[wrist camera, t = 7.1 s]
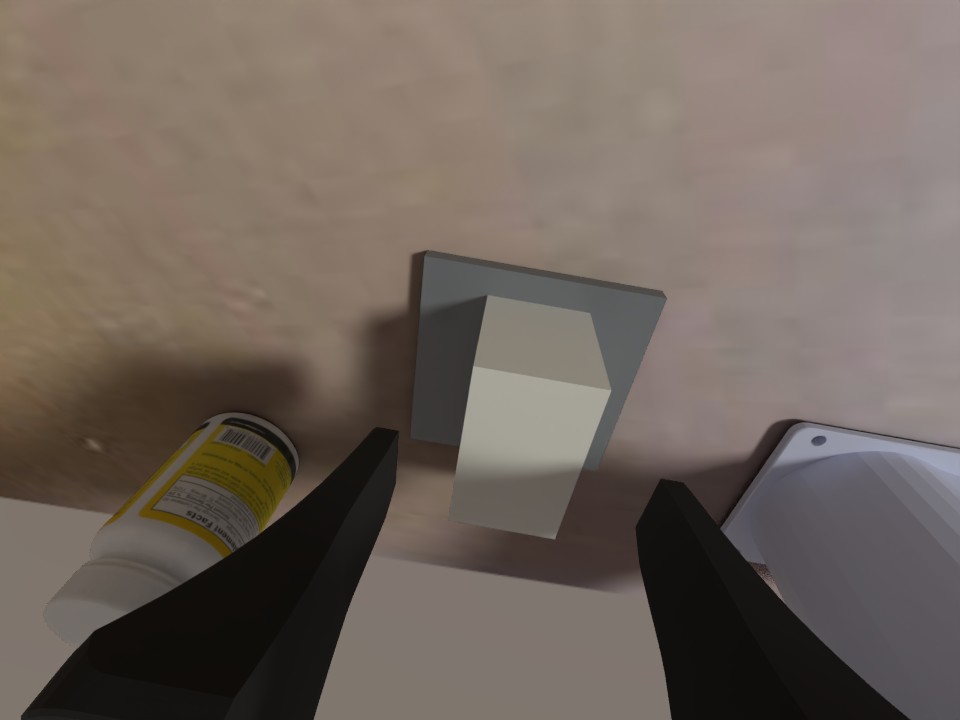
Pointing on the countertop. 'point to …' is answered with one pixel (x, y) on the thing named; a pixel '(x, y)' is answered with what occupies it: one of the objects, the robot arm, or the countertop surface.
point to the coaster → (468, 281)
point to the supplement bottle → (179, 522)
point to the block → (528, 417)
